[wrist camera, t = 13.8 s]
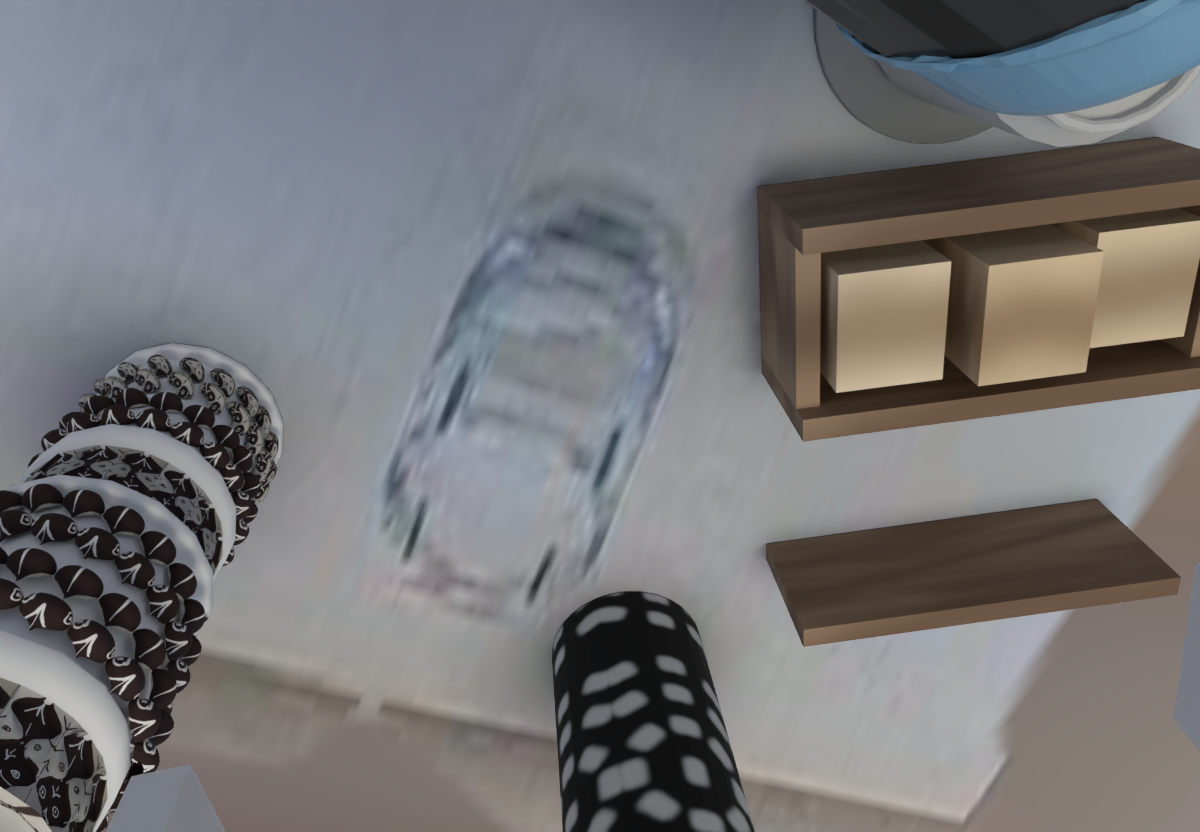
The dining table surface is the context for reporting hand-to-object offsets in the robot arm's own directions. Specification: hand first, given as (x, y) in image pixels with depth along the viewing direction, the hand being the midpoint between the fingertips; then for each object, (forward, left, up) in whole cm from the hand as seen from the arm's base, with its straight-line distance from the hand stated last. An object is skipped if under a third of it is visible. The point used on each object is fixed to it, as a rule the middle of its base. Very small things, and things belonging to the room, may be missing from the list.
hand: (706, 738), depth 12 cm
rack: (+11, +17, -31) cm, 37 cm away
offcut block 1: (+5, +12, -31) cm, 34 cm away
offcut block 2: (+5, +17, -31) cm, 36 cm away
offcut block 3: (+5, +23, -31) cm, 39 cm away
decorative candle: (+9, -19, -31) cm, 38 cm away
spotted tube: (+26, 0, -31) cm, 41 cm away
